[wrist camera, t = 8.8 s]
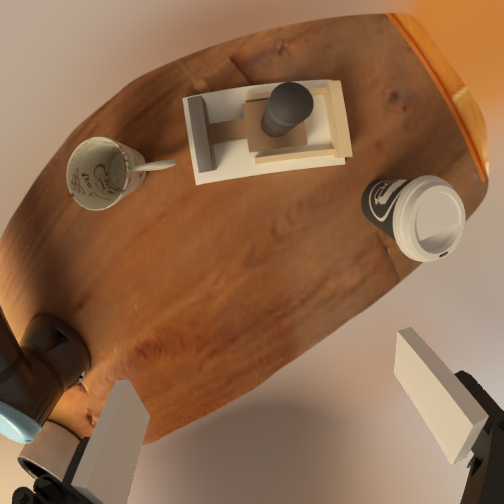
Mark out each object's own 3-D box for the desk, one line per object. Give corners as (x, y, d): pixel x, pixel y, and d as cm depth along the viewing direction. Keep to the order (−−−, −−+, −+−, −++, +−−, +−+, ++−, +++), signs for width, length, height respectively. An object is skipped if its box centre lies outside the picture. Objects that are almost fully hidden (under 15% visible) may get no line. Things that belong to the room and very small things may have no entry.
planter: (33, 409, 53) (9, 448, 39) (84, 433, 55) (63, 478, 40) (45, 441, 58) (26, 476, 43) (91, 461, 59) (75, 501, 45)
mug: (99, 148, 37) (62, 146, 28) (180, 129, 37) (160, 119, 27) (106, 203, 40) (72, 216, 30) (188, 189, 39) (170, 197, 30)
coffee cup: (348, 232, 42) (395, 268, 27) (353, 166, 39) (406, 171, 25) (404, 234, 42) (462, 267, 28) (410, 173, 39) (474, 183, 25)
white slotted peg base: (197, 184, 39) (192, 186, 35) (184, 99, 36) (177, 92, 32) (342, 164, 39) (353, 164, 35) (329, 81, 35) (338, 73, 31)
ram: (204, 171, 37) (177, 178, 22) (194, 105, 35) (161, 70, 19) (304, 157, 37) (343, 154, 22) (294, 91, 34) (325, 49, 19)
